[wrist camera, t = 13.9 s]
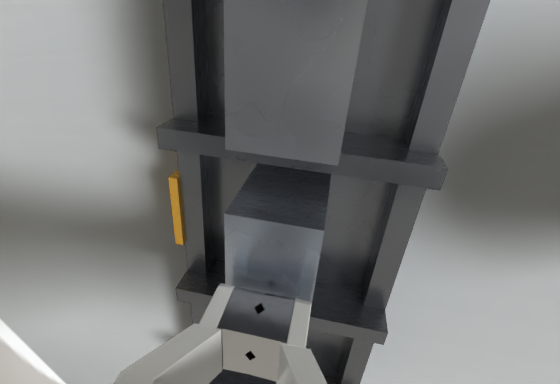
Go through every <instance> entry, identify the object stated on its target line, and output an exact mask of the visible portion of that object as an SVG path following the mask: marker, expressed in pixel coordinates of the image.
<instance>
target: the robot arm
mask: <svg viewBox="0 0 560 384" xmlns="http://www.w3.org/2000/svg"><path fill="white" fill-rule="evenodd" d="M311 305H312V304H311V302H310V301H305V300H300V299H296V300H295V298H291V297H285V296H280V295H275V294H270V293H263V292H258V291H254V290H250V289H245V288H241V287H237V286H231V285H227V284H223V283H221V284H220V285H219V286H218V287H217V289H216V291H215V293H214V295H213V297H212V299H211V301H210V303H209V305H208V307H207V309H206V311H205V313H204V315H203V317H202V319H201V321H200V323H199V324H196V323H194V324H192V325H191V326H189V327H188V328H186V329H185V330H183V331H182V332H180V333H179V334H177V335H176V336H174V337H173V338H171V339H170V340H168V341H167V342H165V343H164V344H162V345H161V346H159V347H158V348H156V349H155V350H153V351H152V352H150V353H148V354H147V355H145V356H144V357H142V358H141V359H139V360H138V361H136V362H135V363H133V364H132V365H130V366H129V367H127V368H126V369H124V370H123V371H121V373H120V374H119V376H118V377H117V379H116V380H115V382H114V383H113V384H209V383H210V382H211V381H212V380H213V379H214V378H215V377H216V376H217V375H218V374H219V373H220V372H221V371H222V369H226V370H231V371H235V372H240V373H245V374H250V375H253V376H257V377H261V378H264V379H268V380H272V381H275V382H276V384H327V382H326V380H325V378H324V376H323V374H322V372H321V370H320V368H319V366H318V364H317V361H316V359H315V357H314V355H313V353H312V351H311V349H308V348H306V342H307V335H308V327H309V320H310V312H311Z"/></svg>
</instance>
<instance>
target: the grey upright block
mask: <svg viewBox="0 0 560 384" xmlns="http://www.w3.org/2000/svg"><path fill="white" fill-rule="evenodd" d="M330 180H331V174H327V173H321V172H314V171H307V170H300V169H294V168H287V167H280V166H273V165H267V164H260V163H257V165H256V166H255V168H254V169H253V171H252V172H251V174H250V175H249V177H248V178H247V180H246V181H245V183H244V184H243V186H242V187H241V189H240V190H239V192H238V193H237V195H236V196H235V198H234V200H233V201H232V203H231V204H230V206H229V207H228V209H227V210H226V212H225V213H224V233H225V284H227V285H231V286H237V287H241V288H245V289H250V290H254V291H258V292H263V293H270V294H275V295H280V296H285V297H291V298H295V300H296V299H300V300H305V301H310V302H311V304H312V300H313V294H314V288H315V282H316V276H317V271H318V265H319V259H320V253H321V247H322V242H323V236H324V230H325V221H326V213H327V205H328V197H329V188H330Z"/></svg>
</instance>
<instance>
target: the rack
mask: <svg viewBox="0 0 560 384" xmlns="http://www.w3.org/2000/svg"><path fill="white" fill-rule="evenodd" d="M489 3H490V0H163V6H164V17H165V28H166V38H167V49H168V60H169V71H170V82H171V93H172V104H173V115H174V118H173V119H171V120H170V121H168V122H166V123H164V124H162V125H160V126H158V127H157V128H156V129H157V137H158V146H159V149H166V150H172V151H177V159H178V170H177V171H175V172H174V173H173V174H172V175H171V176H170V177H168V179H169V188H170V197H171V206H172V216H173V225H174V234H175V243H176V244H180V245H184V244H185V246H186V257H187V268H188V271H187V272H186V274H185V275H184V277H183V278H182V280H181V281H180V283H179V284H178V286H177V287H176V295H177V300H179V301H183V302H188V303H191V312H192V323H193V324H194V323H196V324H199V323H200V321H201V319H202V317H203V315H204V313H205V311H206V309H207V307H208V305H209V303H210V301H211V299H212V297H213V295H214V293H215V291H216V289H217V287H218V286H219V285H220V284H221V283H223V284H225V233H224V213H225V212H226V210H227V209H228V207H229V206H230V204H231V203H232V201H233V200H234V198H235V196H236V195H237V193H238V192H239V190H240V189H241V187H242V186H243V184H244V183H245V181H246V180H247V178H248V177H249V175H250V174H251V172H252V171H253V169H254V168H255V166H256V165H257V163H260V164H267V165H273V166H280V167H287V168H294V169H300V170H307V171H314V172H321V173H327V174H331V180H330V188H329V197H328V205H327V213H326V221H325V230H324V236H323V242H322V247H321V253H320V259H319V265H318V271H317V276H316V282H315V288H314V294H313V300H312V305H311V312H310V320H309V327H308V335H307V342H306V348H308V349H311V351H312V353H313V355H314V357H315V359H316V361H317V364H318V366H319V368H320V370H321V372H322V374H323V376H324V378H325V380H326V382H327V384H360V382H361V379H362V376H363V373H364V370H365V367H366V364H367V361H368V358H369V355H370V352H371V349H372V346H373V343H378V344H382V345H384V342H385V339H386V337H387V334H388V331H387V323H386V315H385V308H386V305H387V302H388V299H389V296H390V294H391V291H392V288H393V285H394V282H395V279H396V276H397V273H398V270H399V267H400V264H401V261H402V258H403V255H404V252H405V249H406V246H407V244H408V241H409V238H410V235H411V232H412V229H413V226H414V223H415V220H416V217H417V214H418V211H419V208H420V205H421V202H422V199H423V197H424V194H425V191H426V188H428V189H435V190H440V189H441V186H442V184H443V181H444V178H445V175H446V173H447V170H448V167H447V166H446V164H445V163H444V161H443V160H442V159H441V157H440V156H439V154H438V152H439V149H440V147H441V144H442V141H443V138H444V135H445V132H446V129H447V126H448V123H449V120H450V117H451V114H452V111H453V108H454V105H455V102H456V100H457V97H458V94H459V91H460V88H461V85H462V82H463V79H464V76H465V73H466V70H467V67H468V64H469V61H470V58H471V55H472V52H473V50H474V47H475V44H476V41H477V38H478V35H479V32H480V29H481V26H482V23H483V20H484V17H485V14H486V11H487V8H488V5H489ZM209 384H276V382H275V381H272V380H268V379H264V378H261V377H257V376H253V375H250V374H245V373H240V372H235V371H231V370H226V369H222V371H221V372H220V373H219V374H218V375H217V376H216V377H215V378H214V379H213V380H212V381H211V382H210V383H209Z"/></svg>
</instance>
